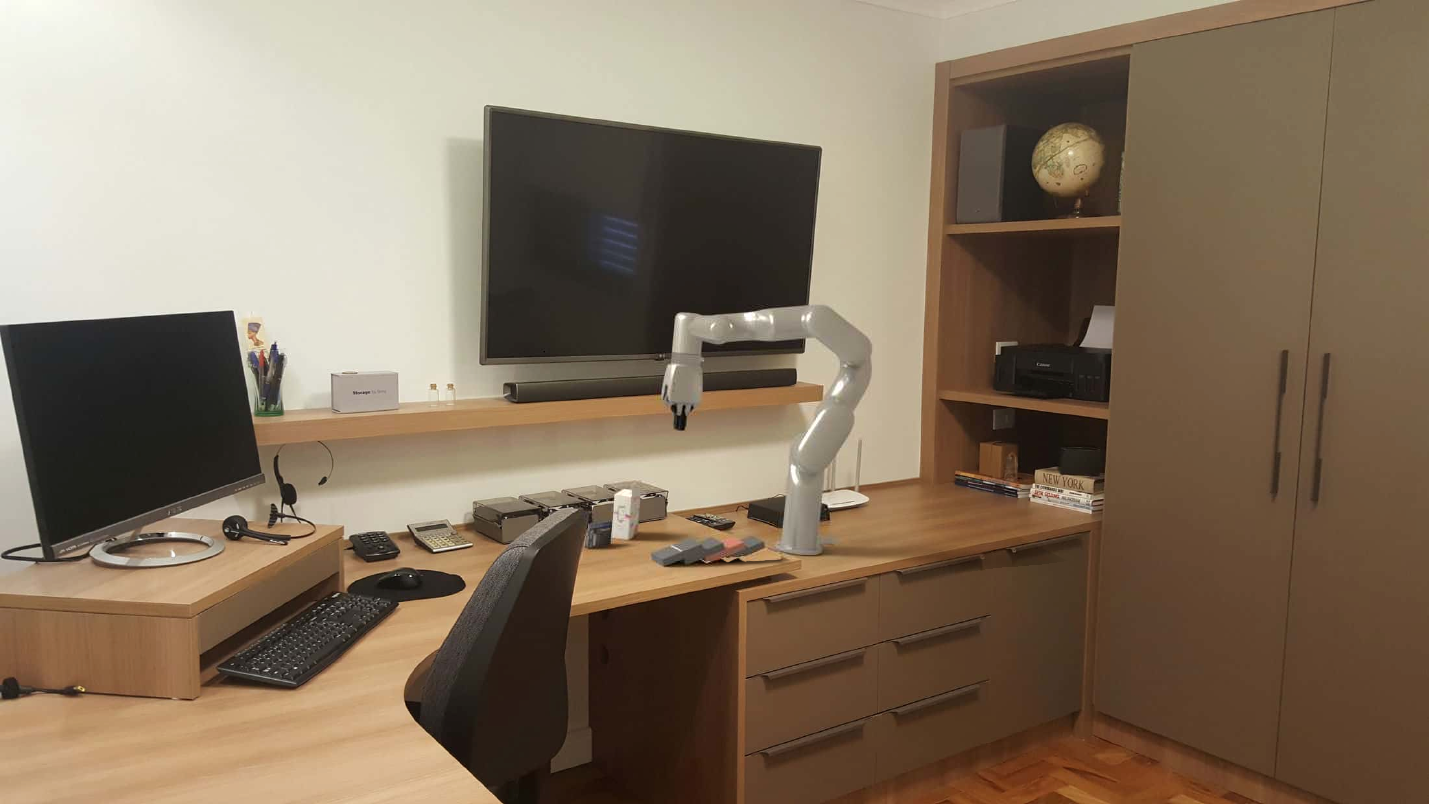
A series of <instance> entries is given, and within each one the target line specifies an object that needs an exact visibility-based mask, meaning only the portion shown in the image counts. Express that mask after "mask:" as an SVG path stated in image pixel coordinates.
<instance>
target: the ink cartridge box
mask: <svg viewBox="0 0 1429 804" xmlns="http://www.w3.org/2000/svg"><path fill="white" fill-rule="evenodd" d="M641 484H642V481H641V480H638V481H635V482H634V483H632V484H631V489H626V488H623V489H622V490H619V491H618V492H617V493H615V494H614V499H613V514H612V515H613V516H612V535H611V539H616V540H617V539H618V540H624V541H629V540H630V539H632V538H634V537H635V536H636V535H637V534H638V530H639V529H638V527H639V517H640V505H641V495H642V494H641V493H642V490H641V489H642V488H641V487H642V485H641ZM636 487H637V488H636ZM636 533H637V534H636ZM634 535H635V536H634Z"/></svg>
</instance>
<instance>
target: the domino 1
mask: <svg viewBox="0 0 1429 804" xmlns="http://www.w3.org/2000/svg"><path fill="white" fill-rule="evenodd" d="M699 542H700V541H697V540H696V539H693V538H692V537H689V538H686V539H684V540H681V541H679V542H676V543H674V544H673V543H672V544H671V545H668V546H665V547H663V548H660V549H658V550H655V551H653V552H651V553H650V555H651V561H653V562H655V563H656V564H658V565H661V566H662V567H667V566H669V565H671V564H673V563H676V562H679V560H681V559H684V558H687V557H689V556H692V555H694V554H697V553H699V552H702V551H703V546H702V544H701V543H699Z"/></svg>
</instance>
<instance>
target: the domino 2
mask: <svg viewBox="0 0 1429 804" xmlns="http://www.w3.org/2000/svg"><path fill="white" fill-rule="evenodd" d="M698 542H699V543H701V544H702V546H703V551H702V552H699V553H697V554H694V555H692V556H689V557H687V558H684V559H681V560H679V561H681V562H682V563H681V562H680V563H681V564H683V563H684V564H685V565H684V564H683V565H684V566H687V564H688V565H690V564H692V563H694V562H698V561H700V559H703V558H705V557H708V556H710V555H713V554H715V553H718V552H720V551H723V550H725V549H724V543H723V542H721V540H718V539H717V538H714V537H713V536H709V537H707V538H705V539H703V540H700V541H698ZM679 561H678V562H679Z"/></svg>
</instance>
